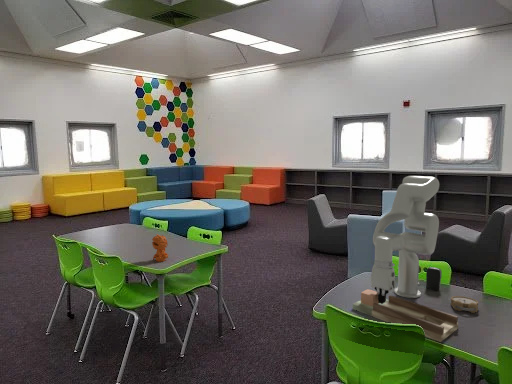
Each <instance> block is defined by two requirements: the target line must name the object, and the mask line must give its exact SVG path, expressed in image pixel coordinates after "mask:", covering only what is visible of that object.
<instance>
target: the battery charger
mask: <svg viewBox="0 0 512 384" xmlns="http://www.w3.org/2000/svg"><path fill="white" fill-rule="evenodd" d="M442 278H443V275H442V269H441V268H438V267H434V266H429V267H428V268H427V269H426V277H425V280H426V281H425V282H426V283H425V288H426V289H429V290H432V291H433V290H434V291H438V292H439V291H441V282H442V281H441V280H442Z"/></svg>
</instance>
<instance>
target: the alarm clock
mask: <svg viewBox="0 0 512 384" xmlns="http://www.w3.org/2000/svg"><path fill="white" fill-rule="evenodd" d="M450 305H451V307H452V308H453V309H454V310H455V311H457V310H458V312H461V311H465V312H466V311H468V312H469V313H470V312H471V313H470V314H476V313H477V312H478V311H479V301H478V300H476V299H474V298H472V297H467V296H460V295H456V296H455V295H454V296H451V298H450ZM475 312H476V313H475Z"/></svg>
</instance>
